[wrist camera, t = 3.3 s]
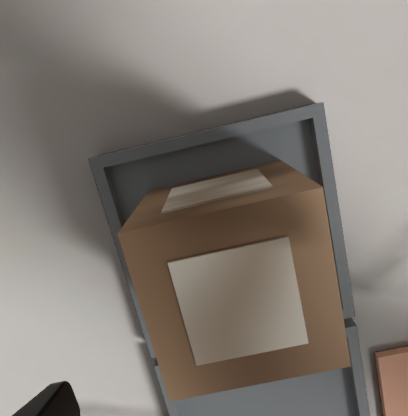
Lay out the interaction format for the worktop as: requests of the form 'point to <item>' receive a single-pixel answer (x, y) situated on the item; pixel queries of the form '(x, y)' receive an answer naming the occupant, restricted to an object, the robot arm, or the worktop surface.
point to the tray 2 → (287, 393)
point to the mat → (393, 380)
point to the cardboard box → (237, 280)
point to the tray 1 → (222, 163)
